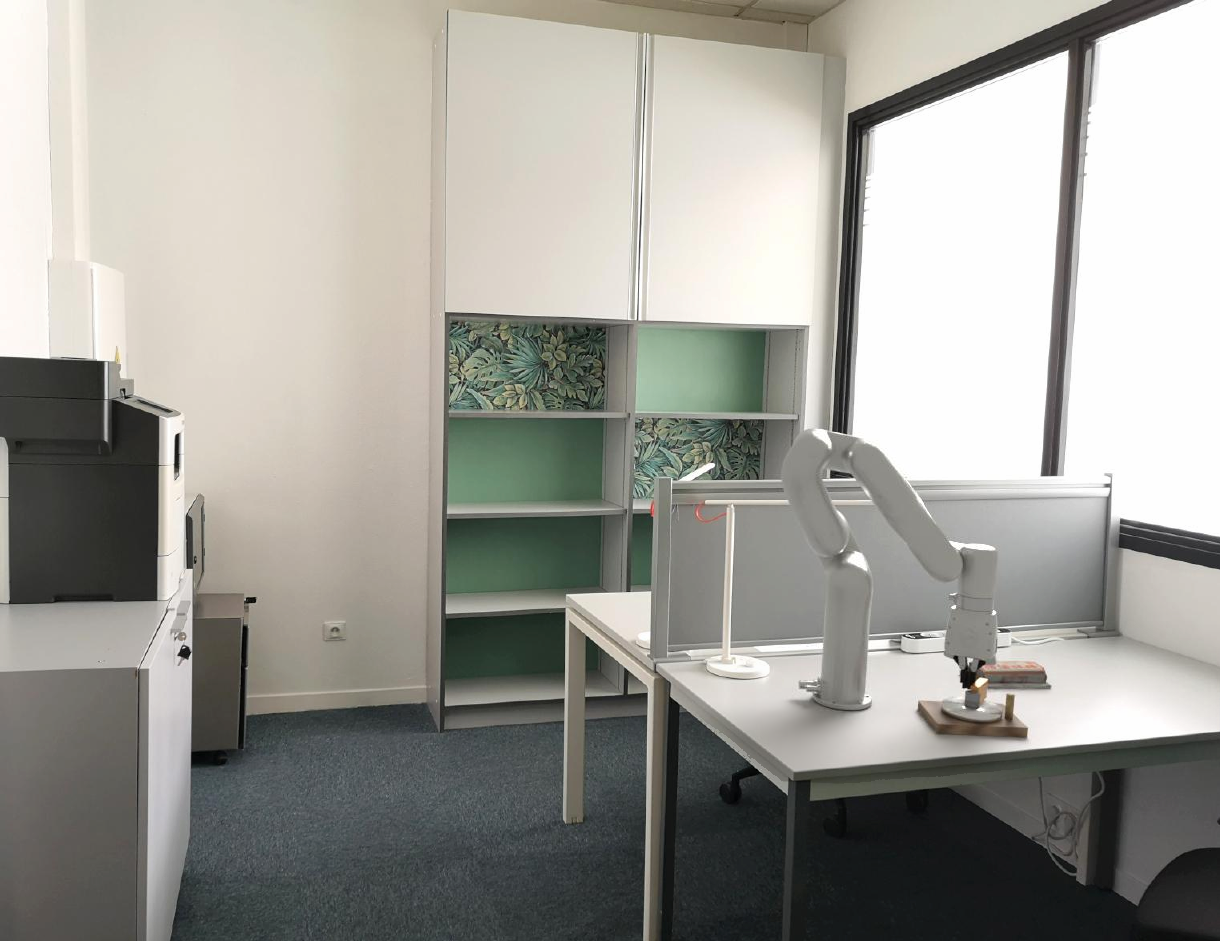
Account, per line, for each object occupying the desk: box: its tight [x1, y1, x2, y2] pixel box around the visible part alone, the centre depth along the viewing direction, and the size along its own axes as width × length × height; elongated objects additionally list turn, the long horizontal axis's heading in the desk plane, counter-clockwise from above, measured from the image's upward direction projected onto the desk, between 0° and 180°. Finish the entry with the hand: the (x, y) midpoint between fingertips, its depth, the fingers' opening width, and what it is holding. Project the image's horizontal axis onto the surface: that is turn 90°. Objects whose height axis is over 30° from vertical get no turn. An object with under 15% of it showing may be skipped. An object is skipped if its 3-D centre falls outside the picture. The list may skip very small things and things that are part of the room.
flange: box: [941, 678, 1003, 723], centre depth 216 cm, size 14×12×5 cm
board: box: [917, 692, 1029, 738], centre depth 215 cm, size 18×14×7 cm
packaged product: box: [959, 660, 1052, 689], centre depth 244 cm, size 18×5×10 cm
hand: (967, 687), depth 221 cm, fingers closed
